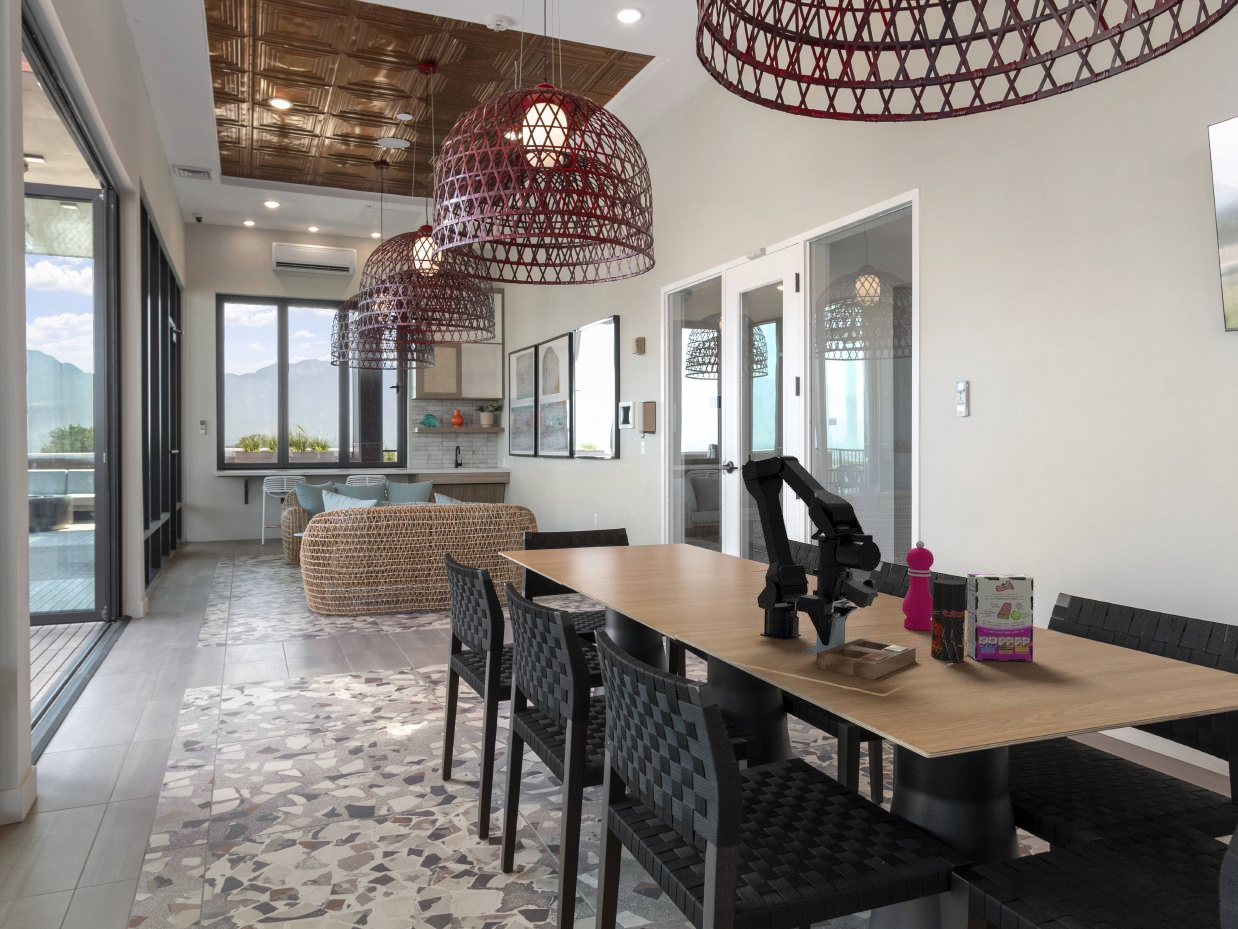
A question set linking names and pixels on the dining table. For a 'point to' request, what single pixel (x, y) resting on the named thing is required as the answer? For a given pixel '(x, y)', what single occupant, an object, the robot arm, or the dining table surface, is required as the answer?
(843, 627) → the plug
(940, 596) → the deodorant
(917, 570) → the pepper mill
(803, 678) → the dining table surface
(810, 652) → the pad
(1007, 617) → the candy bar box
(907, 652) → the socket block
